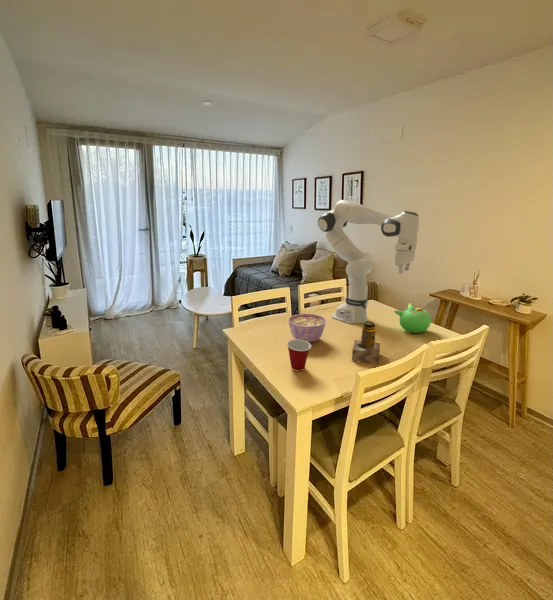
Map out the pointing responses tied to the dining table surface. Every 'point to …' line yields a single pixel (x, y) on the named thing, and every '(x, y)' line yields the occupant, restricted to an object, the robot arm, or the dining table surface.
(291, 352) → the plastic cup
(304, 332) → the bowl of food
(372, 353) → the walnut block
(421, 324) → the toy bird
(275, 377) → the dining table surface
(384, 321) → the dining table surface
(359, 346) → the condiment
